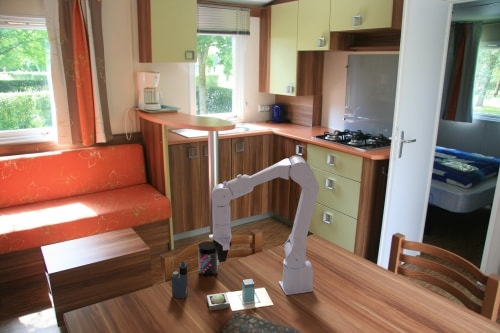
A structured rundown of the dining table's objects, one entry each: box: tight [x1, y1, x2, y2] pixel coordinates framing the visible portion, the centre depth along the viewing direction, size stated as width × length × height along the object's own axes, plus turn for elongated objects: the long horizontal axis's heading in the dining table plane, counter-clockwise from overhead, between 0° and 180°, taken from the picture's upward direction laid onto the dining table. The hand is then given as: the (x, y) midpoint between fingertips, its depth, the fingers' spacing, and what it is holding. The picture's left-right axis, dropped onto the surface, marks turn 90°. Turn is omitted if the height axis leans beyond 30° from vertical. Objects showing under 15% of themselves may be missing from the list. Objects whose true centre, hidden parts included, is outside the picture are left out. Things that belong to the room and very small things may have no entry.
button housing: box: [206, 292, 230, 311], centre depth 125 cm, size 6×6×2 cm
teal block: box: [241, 278, 256, 302], centre depth 127 cm, size 3×3×6 cm
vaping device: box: [170, 261, 189, 299], centre depth 128 cm, size 3×5×12 cm, turn 78°
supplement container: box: [197, 240, 219, 277], centre depth 143 cm, size 7×7×10 cm
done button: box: [211, 295, 225, 304], centre depth 125 cm, size 4×4×2 cm
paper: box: [225, 287, 274, 312], centre depth 128 cm, size 13×10×1 cm
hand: (222, 261), depth 131 cm, fingers closed
